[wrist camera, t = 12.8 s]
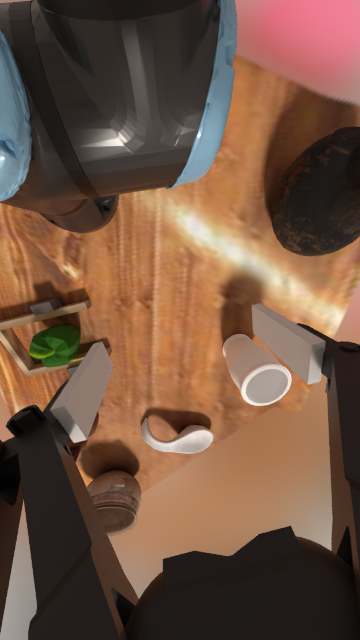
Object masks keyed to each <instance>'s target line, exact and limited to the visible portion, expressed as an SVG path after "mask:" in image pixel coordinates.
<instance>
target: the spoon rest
mask: <svg viewBox="0 0 360 640" xmlns="http://www.w3.org/2000/svg"><path fill="white" fill-rule="evenodd" d="M141 434H142V437H143V439H144V440H145V441H146V443H147V444H149V445H150V446H151V447H153V448H155V449H157V450H159V451H163V452H178V453H186V454H192V453H197V452H200V451H203V450H204V449H206V448H207V447H208V446H209V445H210V444H211V442H212V441H213V434H212V432H211V431H210V430H209V429H207V428H206V427H204V426H200V425H190V426H187V427H186V428H185V429H184V430H183V431H182V432H181V433H180V434H179V435H178V436H176V437H175V438H174V439H172V440H170V441H162V440H159V439H157V438H156V437H154V436H153V434H152V433H151V431H150V429H149V421H148V418H147V417H146V418H145V420H144V422H143V424H142V426H141Z"/></svg>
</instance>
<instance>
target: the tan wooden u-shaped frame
mask: <svg viewBox="0 0 360 640" xmlns="http://www.w3.org/2000/svg"><path fill="white" fill-rule="evenodd" d="M91 306H92V305H91V303H90V300H89V299H88V300H84V301H80V302H76V303H71V304H67V305H62V304H61V302H60V300H59V298H58V297H57V298H53V299H48V300H44V301H40V302H38V303H36V304H34V305H32V306H30V308H31V310H32V312H33V313H30V314H26V315H22V316H18V317H13V318H9V319H5V320H1V321H0V340H1V342H2V343H3V344H4V346H5V347H6V348H7V350H8V351H9V353H10V354H11V355H12V357H13V358H14V359H15V361H16V362H17V364H18V365H19V366H20V368H21V369H22V370H23V372H24V373H25V375H26V376H27V377H29V376H33V375H37V374H41V373H45V372H49V371H53V370H57V369H61V368H65V367H68V368H67V370H68V372H69V374H70V375H71V376H72V375H73V374H74V372H75V371H76V369H77V368H78V366H79V365H80V363H81V362H82V360H83V359H84V357H85V356H86V354H87V353H88V352H84V353H80V354H76V356H75V357H74V358H73V359H72V361H71V362H70V363H69V364H66V365H63V366H58V367H50V368H47V367H46V366H45V365H44V364H43V363H39V364H35V363H34V362H33V360H32V359H31V357H30V356H29V354H28V353H27V351H26V350H25V348H24V347H23V345H22V344H21V342H20V341H19V339H18V338H17V336H16V335H15V334H14V332H13V331H12V329H11V328H12V327H16V326H20V325H24V324H29V323H33V322H37V321H41V320H45V319H49V318H53V317H57V316H62V315H66V314H70V313H74V312H78V311H82V310H86V309H88V308H90V307H91ZM105 349H106V351H107V353H108V355H109V357H110V354H111V352H112V350H111V348H110V346H108V347H105Z"/></svg>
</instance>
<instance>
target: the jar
mask: <svg viewBox="0 0 360 640" xmlns="http://www.w3.org/2000/svg"><path fill="white" fill-rule="evenodd" d="M222 351H223V354H224V356H225V358H226V363H227V366H228V370H229V372H230V375H231V377H232V379H233V381H234V382H235V384H236V385H237V386H238V388H239V389H240V392H241V395H242V397H243V398H244V400H245V401H246V402H248V403H249V404H252V405H255V406H264V405H268V404H271V403H274V402H276V401H277V400H279V399H280V398H282V397H283V396H284V395H285V394H286V393H287V391H288V390H289V388H290V385H291V374H290V372H289V371H288V370H287V369H286V368H285V367H284V366H283V365H281V364H279V362H278V361H277V360H276V358H275V357H274V356H273V355H272V354H271V353H270V352H269V351H268V350H267V349H265V348H264V347H263V346H261V345H259V344H258V343H256V342H255V341H253V340H251V339H250V338H249V337H248V336H247V335H244V334H235V335H232V336H231V337H229V338H228V339H227V340H226V341H225V343H224V345H223V348H222Z"/></svg>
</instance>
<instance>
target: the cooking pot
mask: <svg viewBox="0 0 360 640" xmlns="http://www.w3.org/2000/svg"><path fill="white" fill-rule="evenodd" d="M87 490H88V492H89V495H90V497H91V499H92V501H93V504H94V506H95V508H96V510H97V513H98V515H99V517H100V520H101V522H102V524H103V526H104V529H105V531H106V533H107V535H108V536H113V535H118V534H121V533H124V532H126V531H128V530H130V529H132V528H133V527H134V526H135V524H136V523H137V516H136V515H137V512H138V509H139V506H140V502H141V489H140V485H139V483H138V481H137V480H136V479H135V478H134V477H133V476H132V475H130V474H128V473H126V472H124V471H123V470H118V469H117V470H112V471H109V472H106V473H104V474H102V475H100V476H98V477H96V478H95V479H94V480H93V481H92V482H91V483H90V484H89V485H88V486H87Z"/></svg>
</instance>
